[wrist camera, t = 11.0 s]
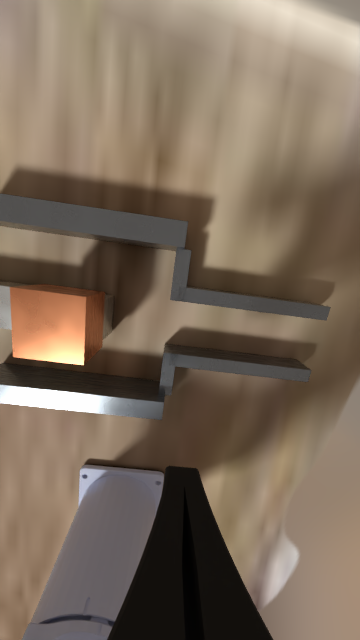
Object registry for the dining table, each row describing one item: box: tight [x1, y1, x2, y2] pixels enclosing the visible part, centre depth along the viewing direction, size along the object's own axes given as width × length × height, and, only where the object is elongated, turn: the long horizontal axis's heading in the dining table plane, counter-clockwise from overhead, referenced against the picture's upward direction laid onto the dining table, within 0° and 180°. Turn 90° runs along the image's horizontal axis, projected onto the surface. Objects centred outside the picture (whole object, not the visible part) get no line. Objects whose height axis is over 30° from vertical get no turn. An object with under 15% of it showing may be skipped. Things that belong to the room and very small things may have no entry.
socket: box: [0, 194, 330, 420], centre depth 15 cm, size 14×25×3 cm, turn 82°
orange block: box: [0, 281, 114, 365], centre depth 14 cm, size 4×11×5 cm, turn 82°
